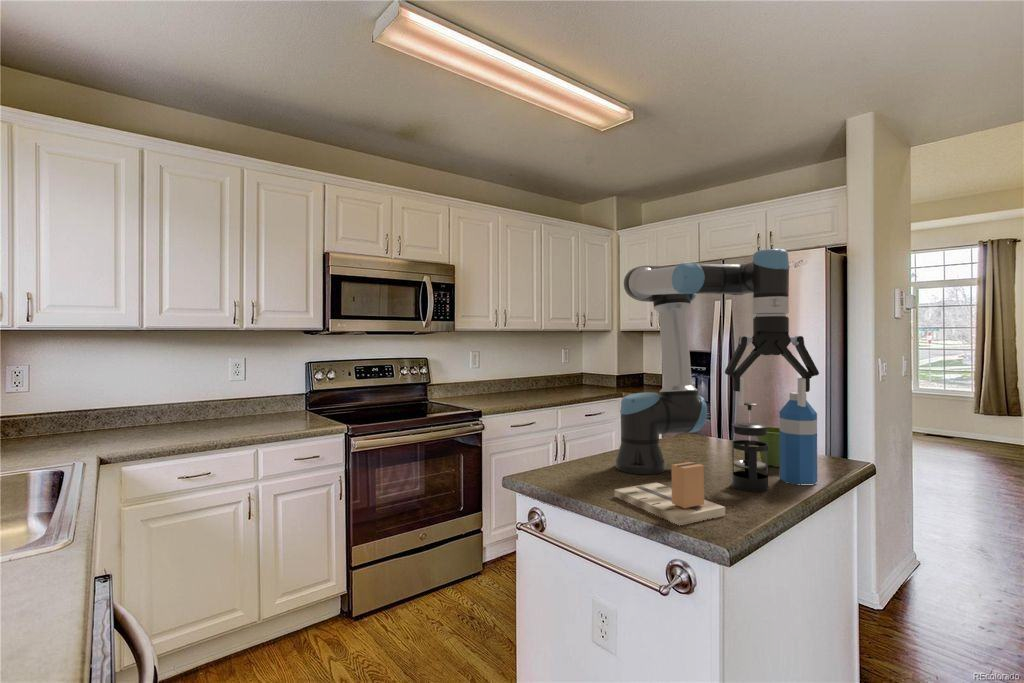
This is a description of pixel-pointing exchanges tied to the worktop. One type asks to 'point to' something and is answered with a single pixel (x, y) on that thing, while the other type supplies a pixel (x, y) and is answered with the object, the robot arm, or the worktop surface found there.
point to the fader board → (667, 504)
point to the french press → (750, 457)
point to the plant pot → (771, 446)
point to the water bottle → (798, 442)
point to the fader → (687, 484)
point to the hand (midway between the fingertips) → (770, 405)
